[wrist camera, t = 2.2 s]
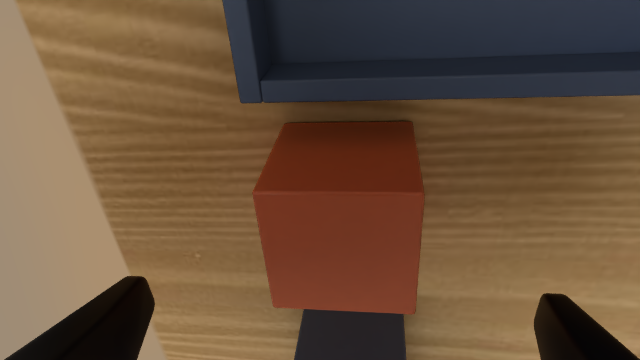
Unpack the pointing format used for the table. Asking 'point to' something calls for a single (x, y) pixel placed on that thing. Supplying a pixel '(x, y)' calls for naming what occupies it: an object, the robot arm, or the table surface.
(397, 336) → the slate block
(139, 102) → the table surface
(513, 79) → the slate tray
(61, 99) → the table surface
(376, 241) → the terracotta block
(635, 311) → the table surface
